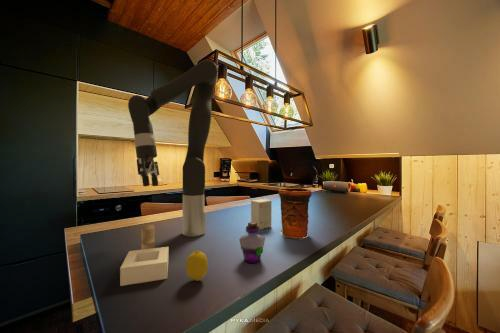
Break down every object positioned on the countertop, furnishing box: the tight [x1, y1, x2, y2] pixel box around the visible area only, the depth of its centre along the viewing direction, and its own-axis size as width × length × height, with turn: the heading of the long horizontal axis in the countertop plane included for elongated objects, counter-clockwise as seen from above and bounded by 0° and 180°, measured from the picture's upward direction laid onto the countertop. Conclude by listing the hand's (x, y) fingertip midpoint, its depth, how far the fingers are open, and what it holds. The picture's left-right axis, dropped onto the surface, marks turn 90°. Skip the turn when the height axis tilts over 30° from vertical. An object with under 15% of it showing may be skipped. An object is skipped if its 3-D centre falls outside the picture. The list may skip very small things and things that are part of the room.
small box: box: [250, 198, 272, 231], centre depth 104 cm, size 8×6×13 cm
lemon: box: [185, 249, 209, 282], centre depth 56 cm, size 6×6×8 cm
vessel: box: [277, 187, 313, 240], centre depth 94 cm, size 14×14×20 cm
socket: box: [119, 246, 170, 287], centre depth 61 cm, size 11×11×4 cm
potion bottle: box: [239, 221, 266, 265], centre depth 69 cm, size 9×9×12 cm
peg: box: [140, 224, 156, 250], centre depth 71 cm, size 4×4×10 cm
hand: (151, 186), depth 85 cm, fingers open, 8 cm apart
